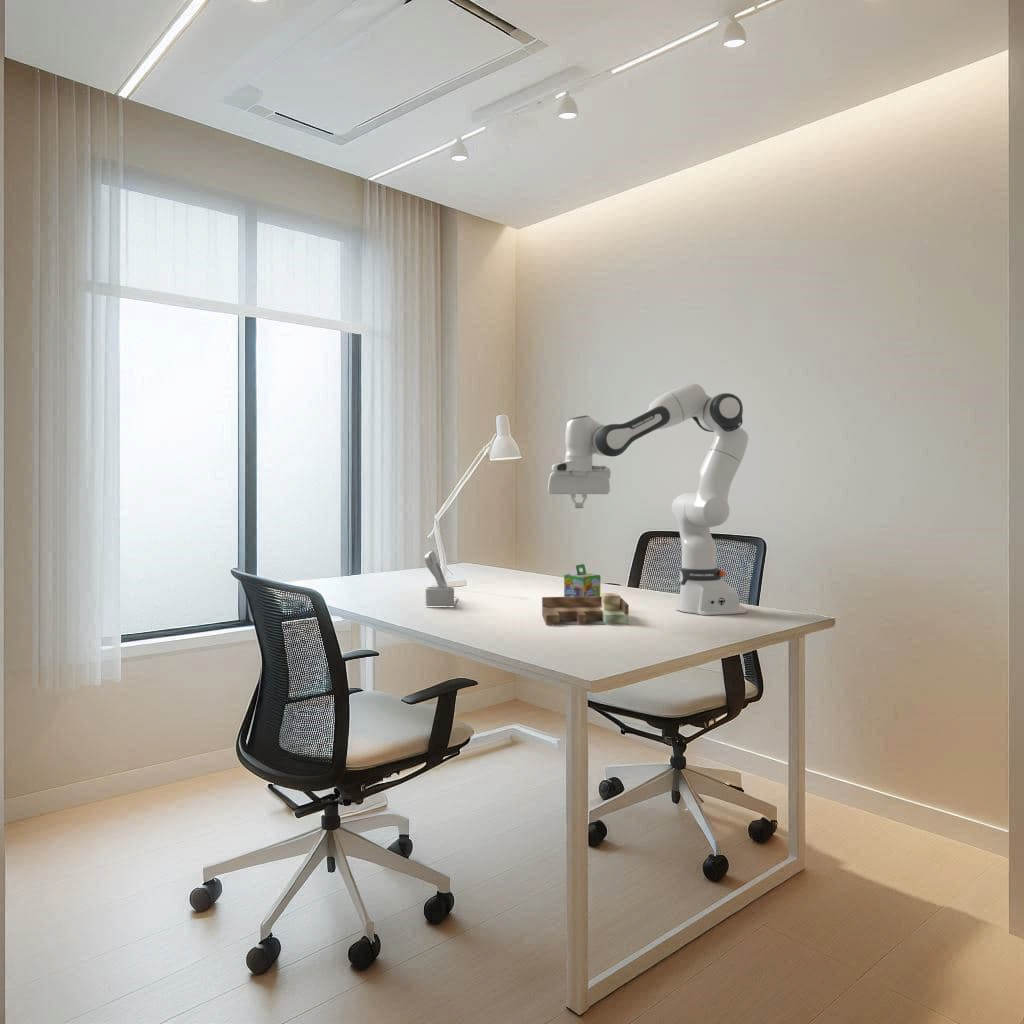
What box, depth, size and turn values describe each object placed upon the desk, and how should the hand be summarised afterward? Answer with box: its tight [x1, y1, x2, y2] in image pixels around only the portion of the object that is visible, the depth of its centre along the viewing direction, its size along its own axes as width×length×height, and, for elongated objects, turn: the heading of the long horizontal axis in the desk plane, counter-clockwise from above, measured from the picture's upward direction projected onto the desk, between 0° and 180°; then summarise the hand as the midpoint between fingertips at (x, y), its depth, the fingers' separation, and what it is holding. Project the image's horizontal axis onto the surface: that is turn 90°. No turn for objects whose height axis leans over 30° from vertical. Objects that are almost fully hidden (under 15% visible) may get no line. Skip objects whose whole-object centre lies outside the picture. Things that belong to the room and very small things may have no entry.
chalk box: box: [563, 563, 601, 597], centre depth 260 cm, size 9×9×15 cm
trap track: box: [541, 595, 630, 626], centre depth 241 cm, size 25×15×6 cm, turn 92°
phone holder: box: [424, 550, 459, 606], centre depth 270 cm, size 17×10×18 cm, turn 179°
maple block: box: [601, 592, 621, 610], centre depth 244 cm, size 5×5×4 cm
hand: (578, 508), depth 253 cm, fingers closed
